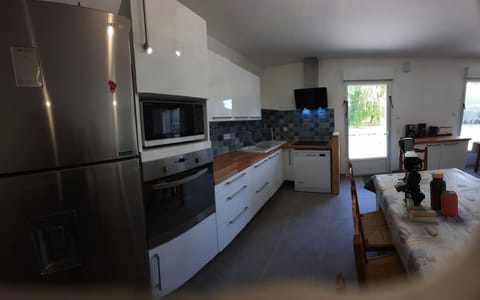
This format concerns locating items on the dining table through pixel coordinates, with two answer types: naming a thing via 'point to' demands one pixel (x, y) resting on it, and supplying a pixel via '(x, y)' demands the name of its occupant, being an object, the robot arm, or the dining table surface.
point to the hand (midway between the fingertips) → (413, 206)
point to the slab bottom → (421, 218)
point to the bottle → (436, 190)
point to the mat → (421, 222)
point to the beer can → (449, 203)
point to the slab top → (421, 211)
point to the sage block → (410, 202)
